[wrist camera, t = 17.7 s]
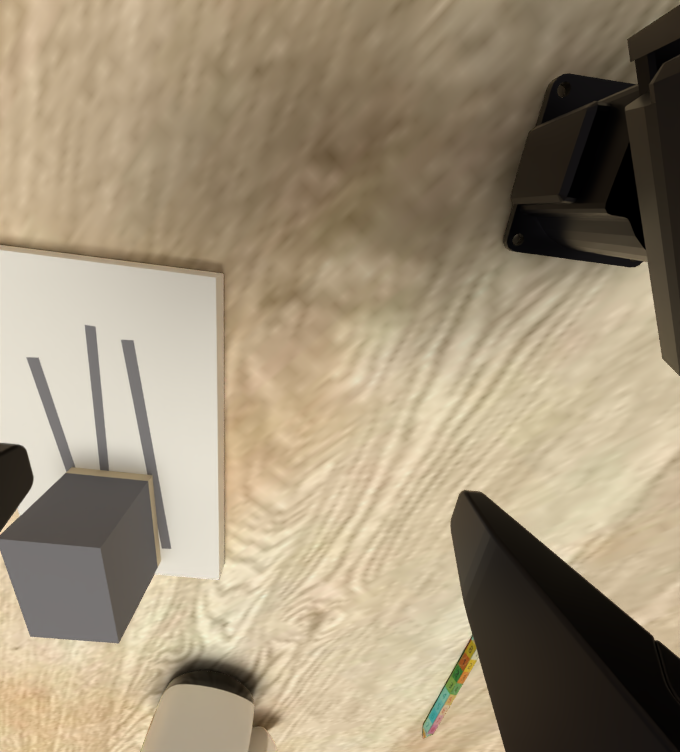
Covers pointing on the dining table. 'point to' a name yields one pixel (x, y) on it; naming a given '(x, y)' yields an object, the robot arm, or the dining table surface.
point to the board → (120, 386)
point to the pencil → (451, 689)
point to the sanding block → (84, 554)
